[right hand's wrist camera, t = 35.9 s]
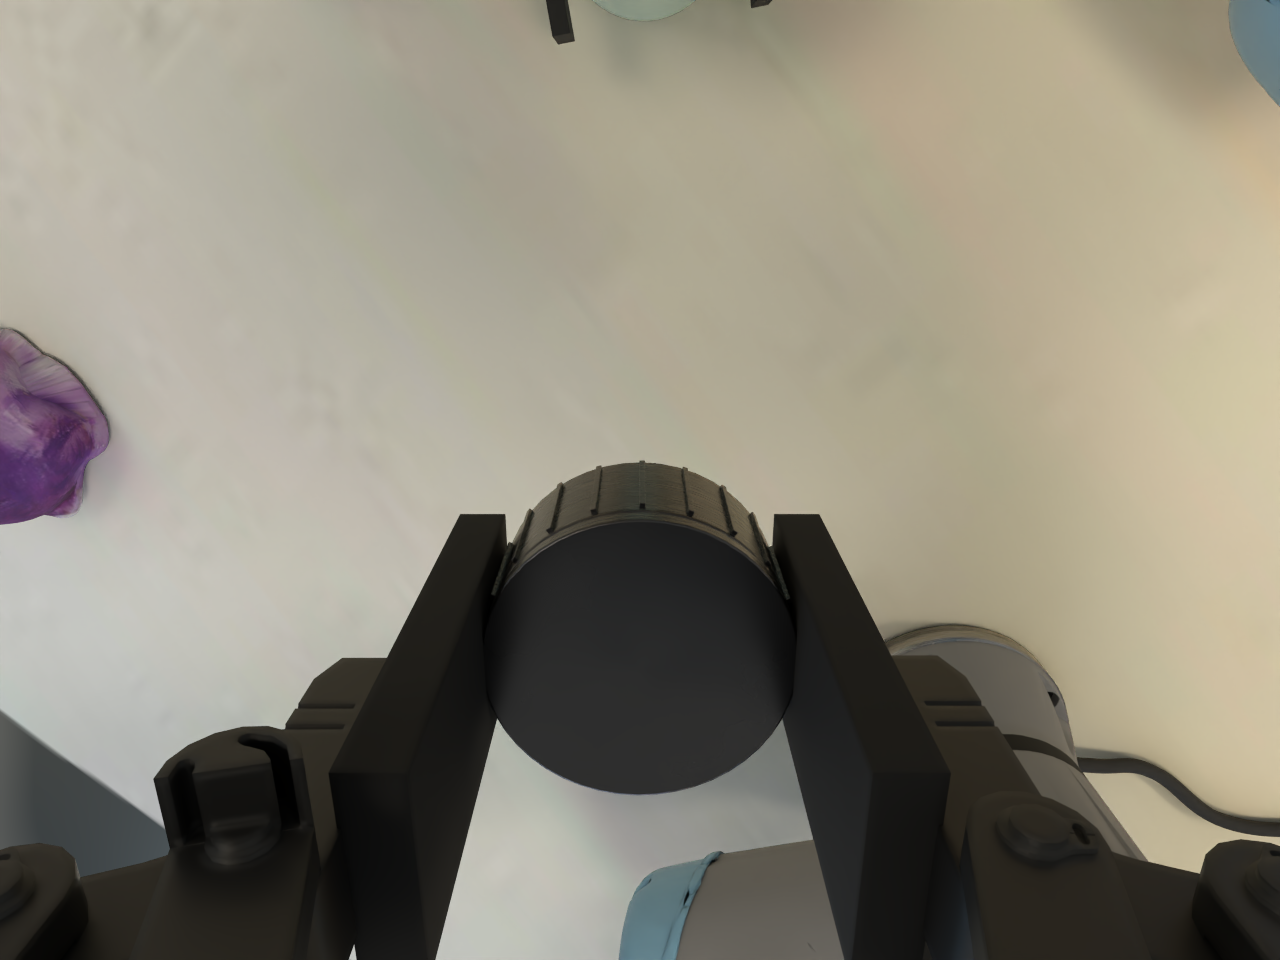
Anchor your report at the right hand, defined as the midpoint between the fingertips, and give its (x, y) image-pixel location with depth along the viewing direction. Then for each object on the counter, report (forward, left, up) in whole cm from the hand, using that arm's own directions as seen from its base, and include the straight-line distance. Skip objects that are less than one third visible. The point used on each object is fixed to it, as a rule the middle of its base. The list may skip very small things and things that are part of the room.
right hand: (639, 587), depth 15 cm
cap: (0, 0, +2) cm, 2 cm away
